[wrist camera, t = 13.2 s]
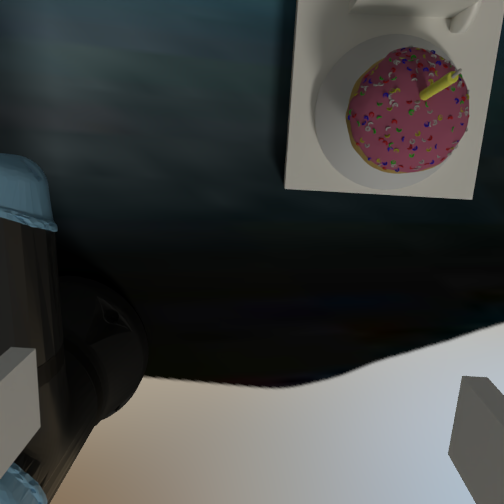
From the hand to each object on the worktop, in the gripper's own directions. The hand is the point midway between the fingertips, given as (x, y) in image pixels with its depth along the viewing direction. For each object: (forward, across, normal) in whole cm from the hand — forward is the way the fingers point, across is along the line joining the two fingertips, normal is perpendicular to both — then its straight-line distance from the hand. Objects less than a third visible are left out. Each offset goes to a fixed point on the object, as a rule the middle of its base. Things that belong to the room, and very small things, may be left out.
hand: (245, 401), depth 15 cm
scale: (+31, +10, +12) cm, 34 cm away
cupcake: (+27, +10, +10) cm, 30 cm away
